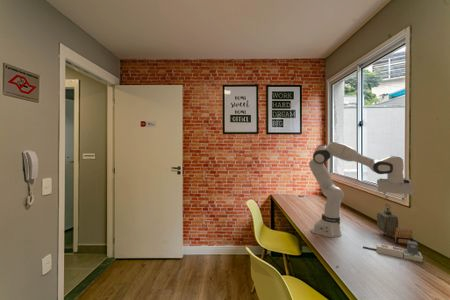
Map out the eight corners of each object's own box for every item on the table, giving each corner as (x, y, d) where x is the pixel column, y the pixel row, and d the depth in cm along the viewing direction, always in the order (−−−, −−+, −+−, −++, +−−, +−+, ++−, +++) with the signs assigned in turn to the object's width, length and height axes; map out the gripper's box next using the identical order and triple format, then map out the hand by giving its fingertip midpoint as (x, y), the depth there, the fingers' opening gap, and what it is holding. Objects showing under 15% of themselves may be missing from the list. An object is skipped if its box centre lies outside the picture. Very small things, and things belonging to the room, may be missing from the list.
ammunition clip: (395, 243, 167) (396, 227, 167) (394, 242, 169) (394, 226, 169) (413, 245, 165) (413, 229, 164) (411, 244, 166) (412, 228, 166)
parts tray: (404, 258, 146) (404, 254, 146) (402, 252, 154) (402, 248, 154) (422, 262, 142) (422, 258, 142) (419, 256, 149) (419, 252, 149)
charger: (407, 257, 147) (408, 243, 147) (406, 253, 151) (407, 240, 151) (417, 259, 145) (418, 245, 144) (416, 255, 149) (416, 242, 148)
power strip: (362, 249, 159) (362, 242, 159) (362, 246, 164) (363, 239, 164) (402, 257, 147) (403, 250, 147) (401, 254, 152) (401, 247, 152)
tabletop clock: (397, 239, 174) (398, 207, 173) (384, 238, 176) (385, 206, 175) (388, 232, 188) (389, 202, 188) (376, 231, 190) (376, 201, 189)
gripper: (377, 178, 162) (376, 198, 163) (414, 181, 151) (413, 202, 152) (376, 177, 168) (376, 196, 168) (412, 180, 157) (412, 200, 157)
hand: (394, 199), depth 160 cm, fingers open, 8 cm apart
